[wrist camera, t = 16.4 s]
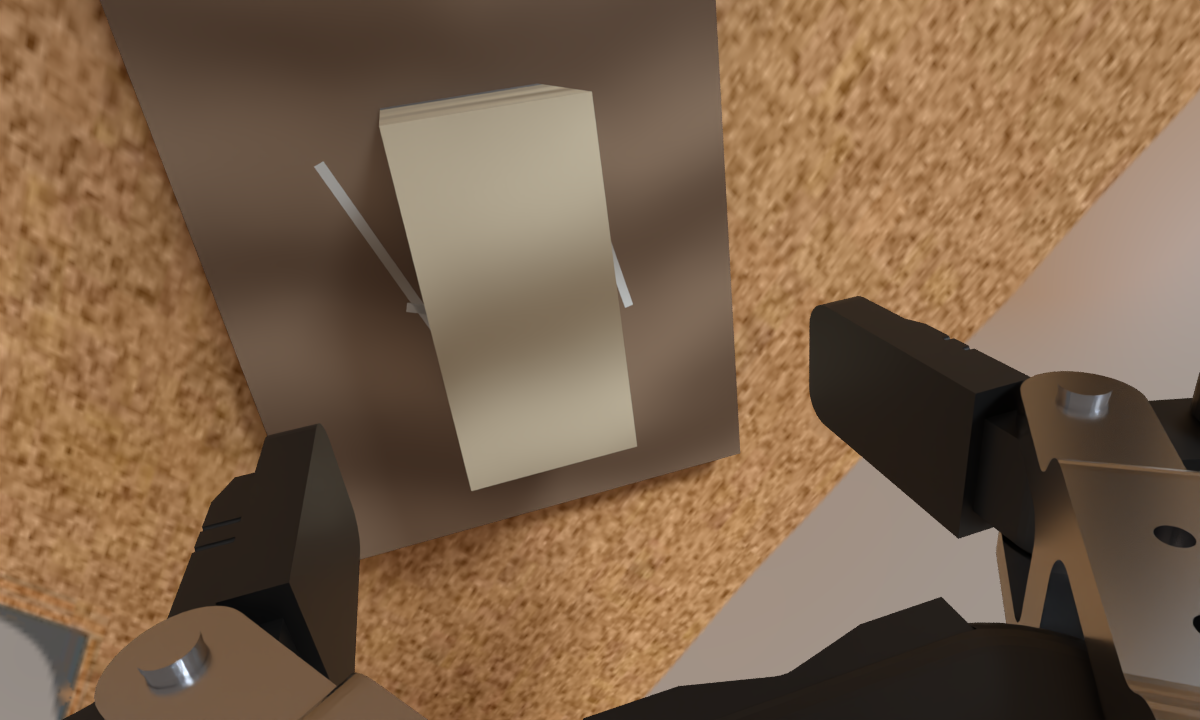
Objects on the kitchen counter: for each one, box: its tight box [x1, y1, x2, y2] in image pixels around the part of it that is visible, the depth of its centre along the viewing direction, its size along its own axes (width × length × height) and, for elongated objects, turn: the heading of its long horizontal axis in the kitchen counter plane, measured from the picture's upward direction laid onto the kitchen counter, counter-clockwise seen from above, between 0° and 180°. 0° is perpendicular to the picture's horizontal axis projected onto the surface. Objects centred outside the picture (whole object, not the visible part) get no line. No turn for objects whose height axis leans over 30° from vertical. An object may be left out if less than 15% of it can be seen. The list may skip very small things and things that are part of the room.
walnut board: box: [100, 0, 740, 559], centre depth 23 cm, size 20×16×2 cm
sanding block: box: [379, 84, 637, 491], centre depth 19 cm, size 9×4×6 cm, turn 8°
